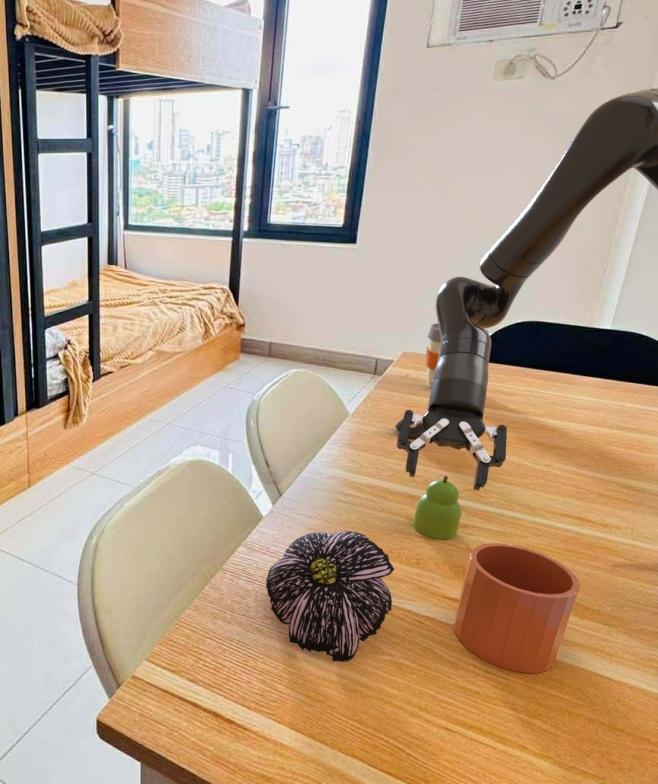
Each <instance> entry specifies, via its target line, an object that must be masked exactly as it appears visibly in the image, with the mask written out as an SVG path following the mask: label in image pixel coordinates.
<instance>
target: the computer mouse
mask: <svg viewBox="0 0 658 784" xmlns="http://www.w3.org/2000/svg"><path fill="white" fill-rule="evenodd" d="M402 421H403V418H402V419H400V420H399V421H398V422H397V423H396V424H395V425H394V427H395V429H396V431H398V432H399V433H400V429H401V425H402ZM425 431H426V430H425V428H424V427H423V425H422V423H418V424H417V425H416V427H414V428H411V427H410V429H409V433H408V437H407V439H413V440H416V439H417V438H419V437H420V436H421V435H422V434H423V433H424V432H425Z"/></svg>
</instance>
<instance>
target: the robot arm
mask: <svg viewBox="0 0 658 784" xmlns="http://www.w3.org/2000/svg"><path fill="white" fill-rule="evenodd" d="M630 169H635V170H636V172H638V173H640V175H642V176H643V177H644V178H645V180H647V182H649V183H650V184H651V185H652V186H653V187H654V188H655V189H656V190H657V191H658V88H657V87H655V88H648V89H642V90H639V91H634V92H629V93H625V94H621V95H619V96H616V97H612V98H611V99H609V100H607V101H606V102H604V103H602V104H601V105H599V106H598V107H597V108H595V109H594V110H593V111H592V112H591V113H590V114H589V116H587V119H585V121H584V122H583V124H582V125H581V126H580V128H579V130H578V131H577V133H576V134H575V136H574V137H573V139H572V141H571V142H570V144H569V145H568V147H567V148H566V150H565V152H564V153H563V155H562V157H561V158H560V160H559V161H558V163H557V164H556V166H555V168H554V169H553V170H552V172H551V173H550V175H548V178H547V179H546V180H545V182H544V183H543V185H542V186H541V187H540V188H539V190H538V192H537V193H536V194H535V196H534V197H533V198H532V200H531V201H530V202H529V203H528V205H527V206H526V207H525V208H524V210H523V211H522V212H521V213H520V214H519V216H518V217H516V219H515V220H514V221H513V222H512V224H511V225H510V226H509V227H508V228H507V229H506V230H505V232H504V233H502V235H501V236H500V237H499V238H498V239H497V240H496V242H495V243H494V244H493V245H492V246H491V247H490V249H489V250H488V251H487V252H486V253H485V254H484V256H482V258H481V260H480V262H479V271H480V273H481V274H482V275H483V276H484V278H485V279H487V280H488V281H489V282H491V283H492V284H494V285H490V284H488V283H484V282H481V281H478V280H475V279H472V278H469V277H465V276H455V277H451V278H450V279H448V280H446V282H444V283H443V285H441V287H440V289H439V290H438V293H437V295H436V299H435V313H436V318H437V323H438V325H439V331H440V337H441V346H440V351H439V357H438V362H437V366H436V368H435V371H434V375H433V380H432V387H431V388H430V393H429V399H428V405H427V411H426V413H425V414H424V415H422V414H417V413H414V411H413V410H411V409H407V410H405V411H404V414H403V417H402V419H403V421H402V425H401V429H400V432H399V433H398V436H397V441H396V448H397V449H399V450H403V451H405V452H406V453H407V457H406V463H405V469H404V470H405V472H406V473H408V474H409V475H408V476H409V477H411V478H415V476H416V471H417V465H418V459H419V455H420V452H421V451H423V450H424V449H427V448H428V447H429V446H430V445H432V444H433V443H434V444H436V445H437V446H438V447H446V448H447V447H448V448H452V449H455V450H462V449H465V451H466V452H467V454H468V455H469V456H470V457H471V458H472V459H473V460H474V462H475V463H476V467H475V471H474V479H473V480H474V481H473V487H472V490H474V491H478V492H479V491H480V490H481V488H484V487H485V486H486V484H487V483H488V477H489V469H490V468H492V467H495V468H501V467H502V466H503V464H504V462H505V461H506V459H507V438H508V437H507V436H508V427H507V426H506V425H505V424H499V425H498V426H493V425H492V426H490V425H486V424H485V422H484V414H485V413H484V412H485V405H486V399H487V392H488V385H489V363H490V355H491V349H492V338H491V335H490V334H489V332H488V333H487V332H486V331H485V330H483V329H482V328H484V329H490V328H493V327H496V326H497V325H499V324H501V322H502V321H504V319H505V318H506V317H507V315H508V313H509V312H510V309H511V307H512V305H513V303H514V301H515V299H516V297H517V296H518V294H519V292H520V290H521V289H522V287H523V286H524V284H525V283H526V281H527V280H528V279H529V278H530V277H531V276H532V274H534V272H535V271H537V270H538V268H539V267H540V266H541V265H543V263H544V262H546V261H547V260H548V258H550V256H551V255H552V254H553V253H554V252H555V251H556V249H558V247H559V246H560V244H561V243H562V242H563V240H564V239H565V237H566V236H567V235H568V232H569V231H570V229H571V227H572V226H573V224H574V223H575V221H576V219H577V218H578V217H579V215H580V214H581V213H582V211H583V210H584V209H585V208H586V207H587V206H588V205H589V204H590V203H591V202H592V201H593V200H594V199H595V198H596V197H597V196H598V195H599V194H600V193H601V192H602V191H604V190H605V189H606V188H607V187H608V186H609V185H611V184H612V183H613V182H615V181H616V180H617V179H618V178H620V177H621V176H623V175H624V174H625V173H627V172H628V171H629V170H630ZM418 423H422V425H423V427H424V428H425V430H426V431H425V432H424V433H423V434H422V435H421V436H420V437H419V438H417V439H414V440H413V441H411V440H408V433H409V429H410V427H411V428H414V427H416V425H417V424H418ZM484 435H487V437H488V440H489V441H491V442H493V449H492V455H489V454H488V453H487V451H486V449H485V448H484V446H483V444H482V442H481V440H480V439H479V438H481V437H482V436H484Z"/></svg>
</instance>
